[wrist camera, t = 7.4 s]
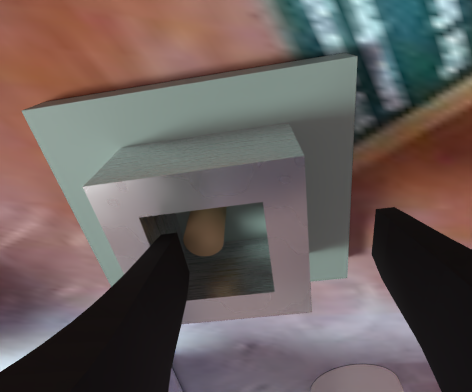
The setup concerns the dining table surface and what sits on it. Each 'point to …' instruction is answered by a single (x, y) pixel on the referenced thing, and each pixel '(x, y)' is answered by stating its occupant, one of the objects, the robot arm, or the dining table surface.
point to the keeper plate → (208, 122)
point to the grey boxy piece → (213, 196)
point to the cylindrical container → (358, 380)
